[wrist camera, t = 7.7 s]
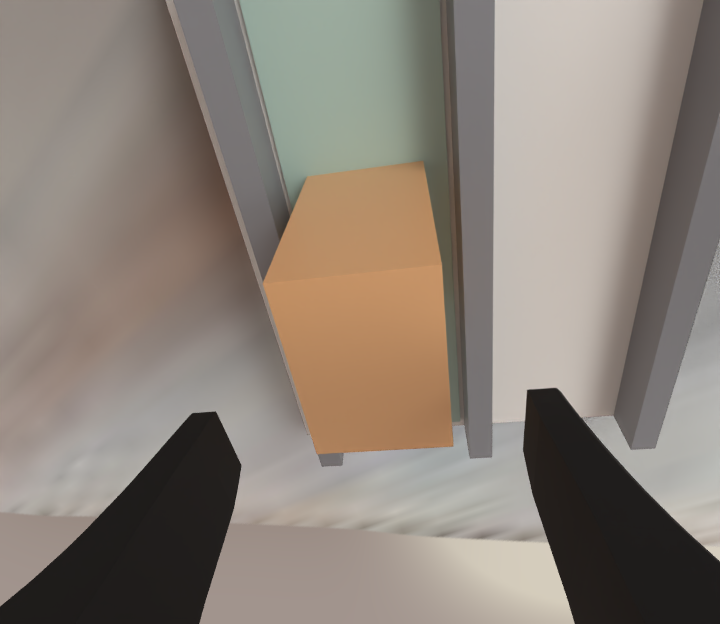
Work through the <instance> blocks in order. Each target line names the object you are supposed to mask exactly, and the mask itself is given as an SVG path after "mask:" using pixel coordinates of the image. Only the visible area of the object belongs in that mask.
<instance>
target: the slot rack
mask: <svg viewBox="0 0 720 624" xmlns="http://www.w3.org/2000/svg"><path fill="white" fill-rule="evenodd" d="M166 4H167V7H168V10H169V13H170V16H171V19H172V22H173V25H174V28H175V31H176V34H177V37H178V40H179V43H180V46H181V49H182V52H183V56H184V59H185V62H186V65H187V68H188V71H189V74H190V77H191V80H192V83H193V86H194V89H195V92H196V95H197V98H198V101H199V104H200V108H201V111H202V114H203V117H204V120H205V123H206V126H207V129H208V132H209V135H210V138H211V141H212V144H213V147H214V150H215V153H216V156H217V159H218V163H219V166H220V169H221V172H222V175H223V178H224V181H225V184H226V187H227V190H228V193H229V196H230V199H231V202H232V205H233V208H234V211H235V215H236V218H237V221H238V224H239V227H240V230H241V233H242V236H243V239H244V242H245V245H246V248H247V251H248V254H249V257H250V260H251V263H252V267H253V270H254V273H255V276H256V279H257V282H258V285H259V288H260V291H261V294H262V297H263V300H264V303H265V306H266V309H267V312H268V315H269V319H270V322H271V325H272V328H273V331H274V334H275V337H276V340H277V343H278V346H279V349H280V352H281V355H282V358H283V361H284V364H285V367H286V371H287V374H288V377H289V380H290V383H291V386H292V389H293V392H294V395H295V398H296V401H297V404H298V407H299V410H300V413H301V416H302V419H303V422H304V426H305V429H306V432H307V435H311V434H310V431H309V428H308V425H307V421H306V418H305V415H304V412H303V409H302V406H301V403H300V399H299V396H298V393H297V390H296V387H295V384H294V381H293V377H292V374H291V371H290V368H289V365H288V362H287V359H286V355H285V352H284V349H283V346H282V343H281V340H280V337H279V333H278V330H277V327H276V324H275V321H274V318H273V315H272V311H271V308H270V305H269V302H268V299H267V296H266V293H265V289H264V286H263V281H264V279H265V277H266V274H267V272H268V269H269V267H270V265H271V262H272V260H273V257H274V255H275V253H276V250H277V248H278V245H279V243H280V241H281V238H282V236H283V233H284V231H285V228H286V226H287V224H288V221H289V219H290V216H291V214H292V212H293V209H294V207H295V204H296V202H297V200H298V197H299V195H300V192H301V190H302V187H303V185H304V183H305V180H306V178H307V176H314V175H322V174H329V173H336V172H344V171H351V170H358V169H366V168H373V167H381V166H388V165H395V164H403V163H410V162H417V161H423V162H424V168H425V173H426V179H427V184H428V190H429V195H430V201H431V207H432V212H433V218H434V223H435V229H436V234H437V240H438V245H439V251H440V256H441V262H442V274H443V290H444V306H445V322H446V338H447V354H448V370H449V386H450V402H451V418H452V426H456V425H464V426H465V432H466V438H467V444H468V450H469V456H470V458H487V457H492V423H503V422H519V421H525V413H526V398H527V390H530V389H544V388H557V389H559V390H560V391H561V392H562V394H563V395H564V396H565V398H566V399H567V400H568V402H569V403H570V404H571V405H572V407H573V408H574V409H575V411H576V412H577V413H578V414H579V416H580V417H597V416H612V415H614V417H615V419H616V421H617V423H618V425H619V427H620V429H621V431H622V433H623V435H624V437H625V439H626V441H627V443H628V445H629V447H630V449H631V450H633V449H652V448H655V447H656V444H657V441H658V437H659V434H660V431H661V428H662V424H663V421H664V418H665V415H666V411H667V408H668V405H669V401H670V398H671V395H672V392H673V388H674V385H675V382H676V379H677V375H678V372H679V369H680V366H681V362H682V359H683V356H684V353H685V349H686V346H687V343H688V340H689V336H690V333H691V330H692V327H693V323H694V320H695V317H696V314H697V310H698V307H699V304H700V301H701V297H702V294H703V291H704V287H705V284H706V281H707V278H708V274H709V271H710V268H711V265H712V261H713V258H714V255H715V252H716V248H717V245H718V242H719V239H720V0H166ZM318 456H319V459H320V462H321V465H322V467H323V466H341V465H342V463H343V453H329V454H318Z"/></svg>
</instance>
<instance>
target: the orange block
mask: <svg viewBox="0 0 720 624" xmlns="http://www.w3.org/2000/svg"><path fill="white" fill-rule="evenodd" d="M263 286H264V289H265V293H266V296H267V299H268V302H269V305H270V308H271V311H272V315H273V318H274V321H275V324H276V327H277V330H278V333H279V337H280V340H281V343H282V346H283V349H284V352H285V355H286V359H287V362H288V365H289V368H290V371H291V374H292V377H293V381H294V384H295V387H296V390H297V393H298V396H299V399H300V403H301V406H302V409H303V412H304V415H305V418H306V421H307V425H308V428H309V431H310V434H311V437H312V440H313V443H314V447H315V450H316V453H317V454H329V453H347V452H364V451H382V450H399V449H417V448H434V447H452V446H453V434H452V418H451V402H450V386H449V370H448V354H447V338H446V322H445V306H444V290H443V274H442V262H441V256H440V251H439V245H438V240H437V234H436V229H435V223H434V218H433V212H432V207H431V201H430V195H429V190H428V184H427V179H426V173H425V168H424V162H423V161H417V162H410V163H403V164H395V165H388V166H381V167H373V168H366V169H358V170H351V171H344V172H336V173H329V174H322V175H314V176H307V178H306V180H305V183H304V185H303V187H302V190H301V192H300V195H299V197H298V200H297V202H296V204H295V207H294V209H293V212H292V214H291V216H290V219H289V221H288V224H287V226H286V228H285V231H284V233H283V236H282V238H281V241H280V243H279V245H278V248H277V250H276V253H275V255H274V257H273V260H272V262H271V265H270V267H269V269H268V272H267V274H266V277H265V279H264V281H263Z"/></svg>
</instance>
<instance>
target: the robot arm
mask: <svg viewBox="0 0 720 624" xmlns="http://www.w3.org/2000/svg"><path fill="white" fill-rule="evenodd" d="M523 452H524V457H525V461H526V466H527V471H528V476H529V480H530V484H531V489H532V493H533V497H534V500H535V503H536V506H537V509H538V512H539V515H540V518H541V521H542V524H543V527H544V530H545V533H546V536H547V539H548V542H549V545H550V548H551V551H552V554H553V557H554V560H555V563H556V566H557V569H558V572H559V575H560V578H561V581H562V584H563V586H564V590H565V593H566V596H567V599H568V602H569V605H570V609H571V612H572V615H573V619H574V622H575V624H720V561H719V560H718V559H717V558H715V557H714V556H713V555H712V554H711V553H710V552H709V551H708V550H706V549H705V548H704V547H703V546H702V545H701V544H700V543H699V542H698V541H697V540H695V539H694V538H693V537H692V536H691V535H690V534H689V533H688V532H687V531H686V530H685V529H684V528H683V527H682V526H681V525H680V524H679V523H677V522H676V521H675V520H674V519H673V518H672V517H671V516H670V515H669V514H668V513H667V512H666V511H665V510H664V509H663V508H662V507H661V506H660V505H659V504H658V503H657V502H656V501H655V500H654V499H653V498H652V497H651V496H650V495H649V494H648V493H647V492H646V491H645V490H644V489H643V487H642V486H641V485H640V484H639V483H638V482H637V481H636V480H635V479H634V478H633V477H632V476H631V475H630V474H629V473H628V471H627V470H626V469H625V468H624V467H623V466H622V465H621V464H620V463H619V461H618V460H617V459H616V458H615V457H614V456H613V455H612V454H611V453H610V452H609V450H608V449H607V448H606V447H605V446H604V445H603V443H602V442H601V441H600V440H599V439H598V438H597V436H596V435H595V434H594V433H593V432H592V430H591V429H590V428H589V427H588V426H587V424H586V423H585V422H584V421H583V419H582V418H581V417H580V416H579V414H578V413H577V412H576V411H575V409H574V408H573V407H572V405H571V404H570V403H569V402H568V400H567V399H566V398H565V396H564V395H563V394H562V392H561V391H560V390H559V389H557V388H544V389H530V390H527V398H526V413H525V429H524V445H523ZM240 471H241V463H240V461H239V459H238V457H237V455H236V453H235V451H234V449H233V446H232V444H231V442H230V440H229V438H228V436H227V434H226V432H225V430H224V427H223V425H222V423H221V421H220V419H219V417H218V415H217V413H216V412H203V413H192V414H191V415H190V416H189V417H188V418H187V420H186V421H185V422H184V423H183V424H182V425H181V426H180V427H179V428H178V430H177V431H176V432H175V433H174V434H173V435H172V436H171V438H170V439H169V440H168V441H167V442H166V443H165V445H164V446H163V447H162V448H161V449H160V450H159V451H158V453H157V454H156V455H155V456H154V457H153V458H152V459H151V461H150V462H149V463H148V464H147V465H146V466H145V467H144V468H143V470H142V471H141V472H140V473H139V474H138V475H137V476H136V477H135V478H134V480H133V481H132V482H131V483H130V484H129V485H128V486H127V487H126V488H125V490H124V491H123V492H122V493H121V494H120V495H119V496H118V497H117V498H116V499H115V500H114V501H113V502H112V503H111V504H110V505H109V506H108V507H107V508H106V509H105V510H104V512H103V513H102V514H101V515H100V516H99V517H98V518H97V519H96V520H95V521H94V522H93V523H92V524H91V525H90V526H89V527H88V528H87V529H86V530H85V531H84V532H83V533H82V534H81V535H80V536H79V537H78V538H77V539H76V540H75V541H74V542H73V543H72V544H71V545H70V546H69V547H68V548H67V549H66V550H65V551H64V552H63V553H62V554H60V555H59V556H58V557H57V558H56V559H55V560H54V561H53V562H51V563H50V564H49V565H48V566H47V567H46V568H45V569H44V570H43V571H42V572H41V573H39V574H38V575H37V576H36V577H35V578H34V579H33V580H32V581H30V582H29V583H28V584H27V585H26V586H25V587H23V588H22V589H21V590H20V591H18V592H17V593H16V594H15V595H14V596H12V597H11V598H10V599H9V600H8V601H6V602H5V603H4V604H3V605H2V606H0V624H199V622H200V619H201V615H202V611H203V608H204V604H205V600H206V597H207V594H208V591H209V588H210V584H211V581H212V578H213V575H214V572H215V569H216V565H217V562H218V559H219V556H220V552H221V549H222V546H223V543H224V540H225V536H226V533H227V529H228V526H229V523H230V520H231V516H232V513H233V509H234V505H235V500H236V495H237V490H238V484H239V478H240Z"/></svg>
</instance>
